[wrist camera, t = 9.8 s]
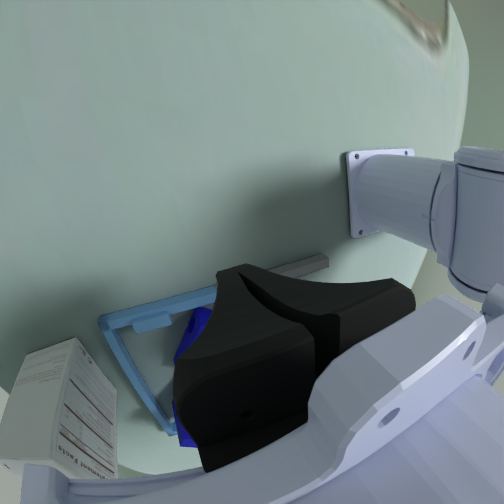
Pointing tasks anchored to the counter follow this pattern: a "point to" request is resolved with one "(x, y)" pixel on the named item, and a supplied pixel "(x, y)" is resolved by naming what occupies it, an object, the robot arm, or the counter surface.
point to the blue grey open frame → (158, 317)
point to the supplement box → (61, 415)
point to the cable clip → (190, 335)
